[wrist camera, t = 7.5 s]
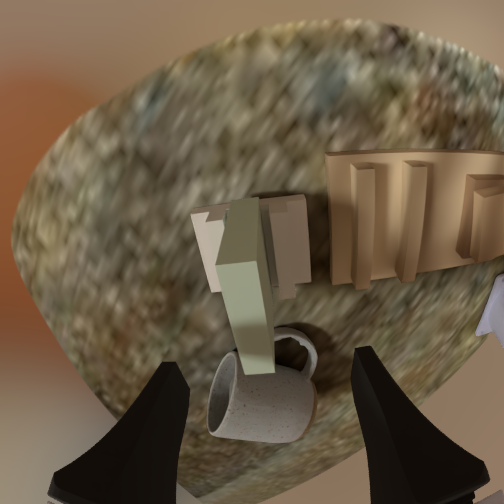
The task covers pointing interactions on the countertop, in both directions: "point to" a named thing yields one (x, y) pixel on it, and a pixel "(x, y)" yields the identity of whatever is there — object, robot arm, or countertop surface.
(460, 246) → the offcut low
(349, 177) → the rack
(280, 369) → the ceramic mug
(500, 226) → the offcut top
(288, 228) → the stand
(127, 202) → the countertop surface
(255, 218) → the pale green square slab
